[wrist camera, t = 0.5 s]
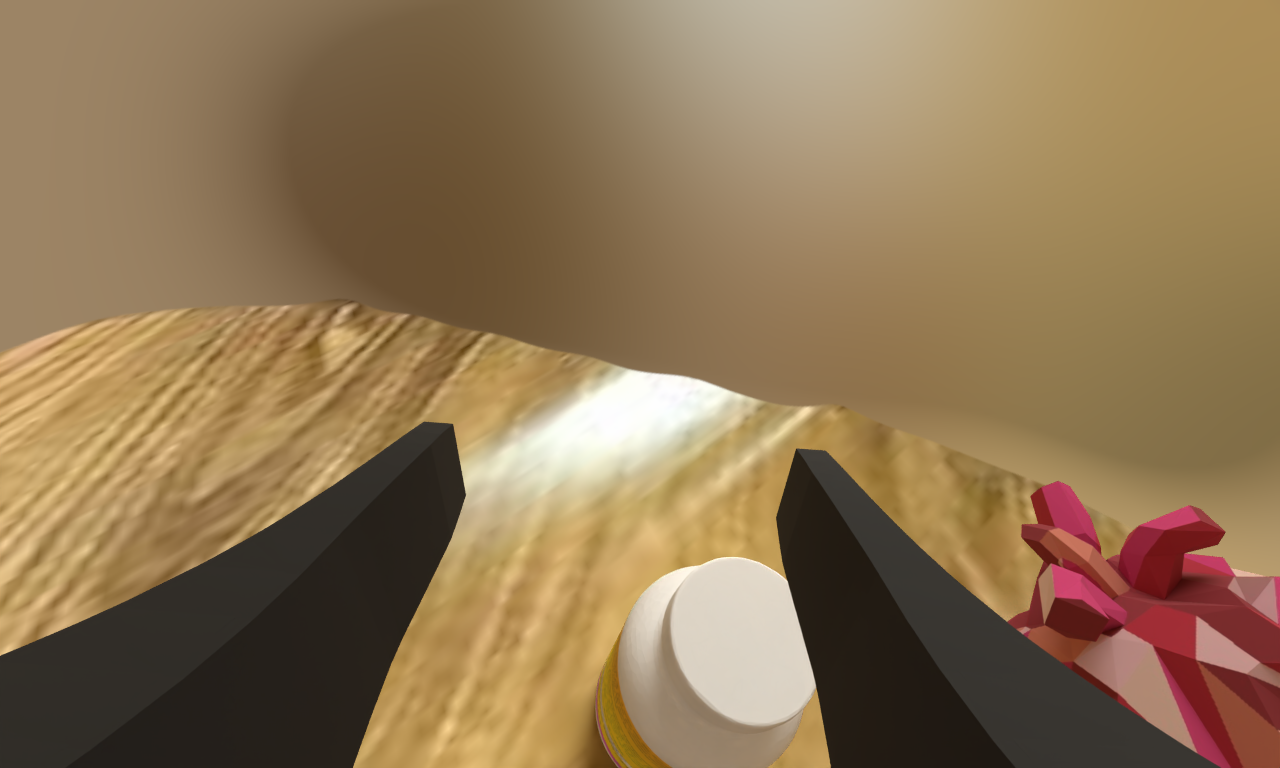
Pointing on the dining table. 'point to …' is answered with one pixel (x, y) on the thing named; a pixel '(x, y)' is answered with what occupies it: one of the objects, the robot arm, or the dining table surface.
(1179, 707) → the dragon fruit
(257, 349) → the dining table surface
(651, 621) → the supplement bottle
